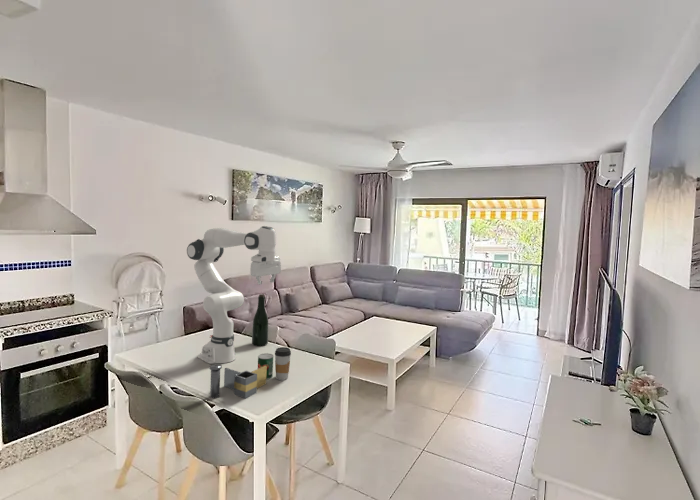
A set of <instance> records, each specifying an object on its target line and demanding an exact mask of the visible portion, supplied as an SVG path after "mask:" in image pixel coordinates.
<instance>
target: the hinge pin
mask: <svg viewBox="0 0 700 500" xmlns="http://www.w3.org/2000/svg"><path fill="white" fill-rule="evenodd" d="M222 366H223V365H222V364H221V363H214V364H210V365H209V370H210V385H209V386H210V388H209V389H210V391H209V392H210V394H209V397H210V399H217V398H219V397H220V391H221V390H220V389H221V388H220V386H221V369H222V368H223V367H222Z"/></svg>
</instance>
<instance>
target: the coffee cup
mask: <svg viewBox="0 0 700 500" xmlns="http://www.w3.org/2000/svg"><path fill="white" fill-rule="evenodd" d="M274 355H275V356H274V357H275V360H274V362H275V378H276V380H279V381H285V380H287V379H288V378H289V373H290V365H291V355H292V350H291V349H290V348H289V347H286V346H285V347H284V346H281V347H280V346H279V347H277V348H276V349H275V351H274Z"/></svg>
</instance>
